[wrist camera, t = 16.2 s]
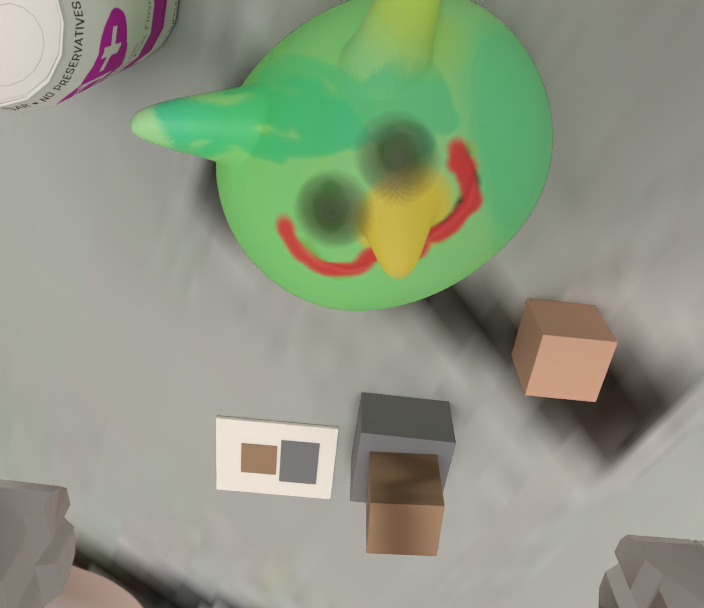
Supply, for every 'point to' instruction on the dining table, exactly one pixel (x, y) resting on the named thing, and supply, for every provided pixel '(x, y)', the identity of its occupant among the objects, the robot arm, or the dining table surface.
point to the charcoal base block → (399, 434)
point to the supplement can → (73, 45)
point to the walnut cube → (403, 504)
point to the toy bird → (374, 150)
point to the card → (275, 457)
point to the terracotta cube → (562, 350)
